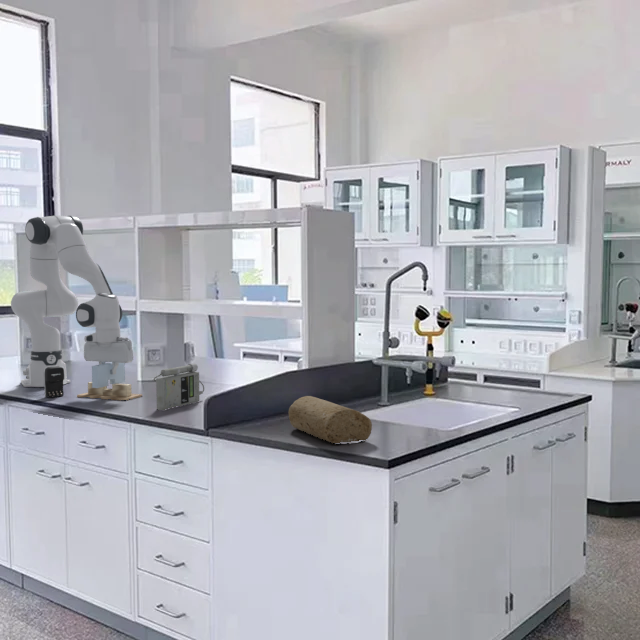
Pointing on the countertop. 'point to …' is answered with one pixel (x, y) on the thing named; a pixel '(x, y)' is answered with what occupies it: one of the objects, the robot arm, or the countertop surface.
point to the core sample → (329, 420)
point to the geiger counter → (178, 387)
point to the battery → (53, 381)
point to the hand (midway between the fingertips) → (109, 374)
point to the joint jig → (111, 392)
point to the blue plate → (107, 375)
